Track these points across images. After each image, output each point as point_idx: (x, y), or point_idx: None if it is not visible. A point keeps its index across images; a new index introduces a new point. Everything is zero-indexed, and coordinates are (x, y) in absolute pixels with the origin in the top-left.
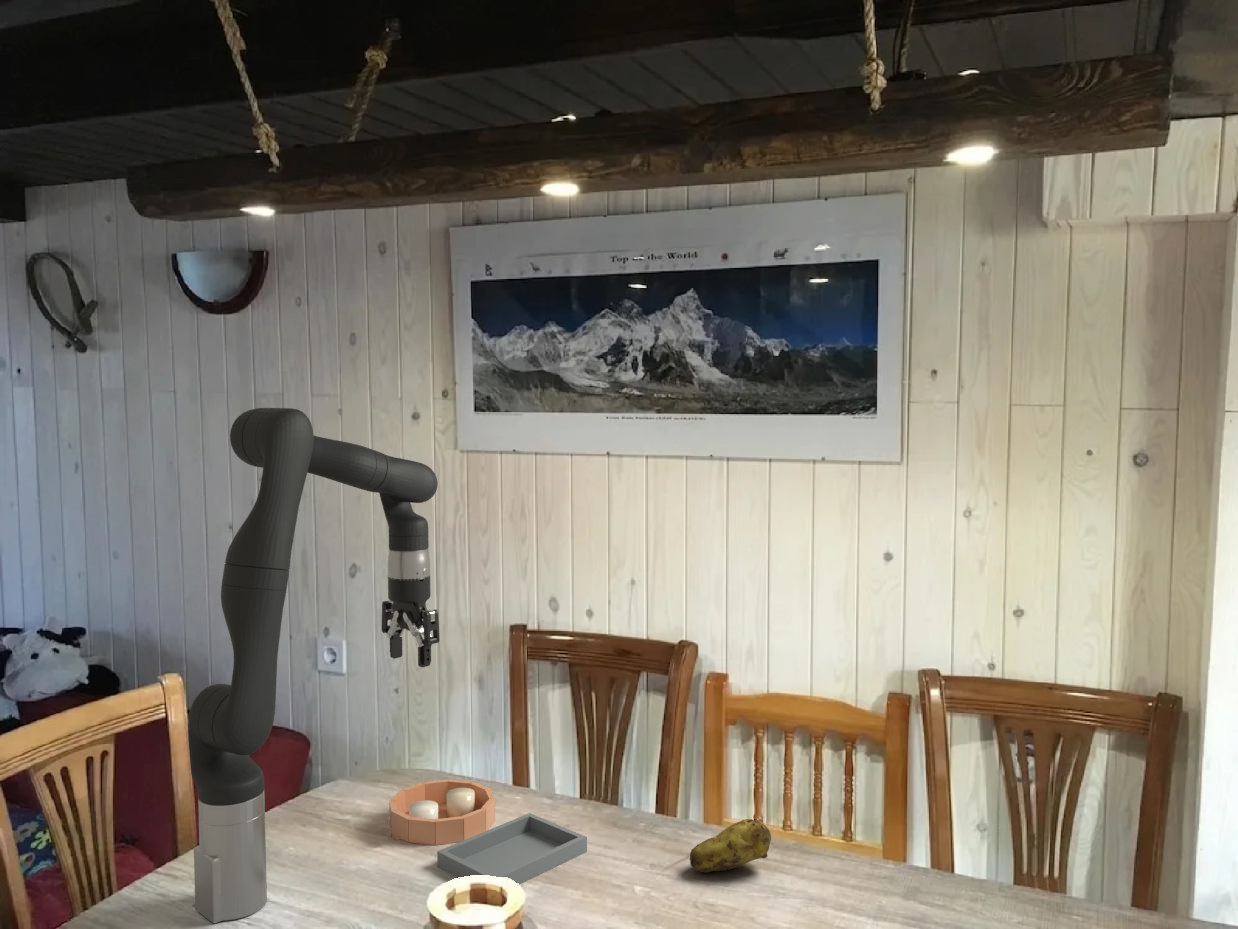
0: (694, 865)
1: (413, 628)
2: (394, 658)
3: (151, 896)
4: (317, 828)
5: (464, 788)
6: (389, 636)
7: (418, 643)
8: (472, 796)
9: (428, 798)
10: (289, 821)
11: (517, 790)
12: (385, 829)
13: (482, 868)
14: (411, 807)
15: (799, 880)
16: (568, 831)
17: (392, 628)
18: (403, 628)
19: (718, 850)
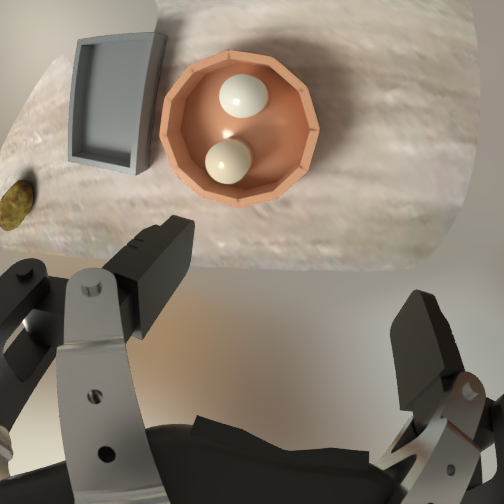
0: (23, 180)
1: (60, 390)
2: (411, 294)
3: None
4: (398, 52)
5: (232, 180)
6: (467, 380)
7: (109, 290)
8: (206, 164)
9: (297, 164)
10: (445, 61)
11: (234, 260)
12: (311, 83)
13: (123, 64)
14: (255, 83)
15: None
16: (83, 160)
17: (447, 433)
18: (315, 452)
19: (7, 191)
